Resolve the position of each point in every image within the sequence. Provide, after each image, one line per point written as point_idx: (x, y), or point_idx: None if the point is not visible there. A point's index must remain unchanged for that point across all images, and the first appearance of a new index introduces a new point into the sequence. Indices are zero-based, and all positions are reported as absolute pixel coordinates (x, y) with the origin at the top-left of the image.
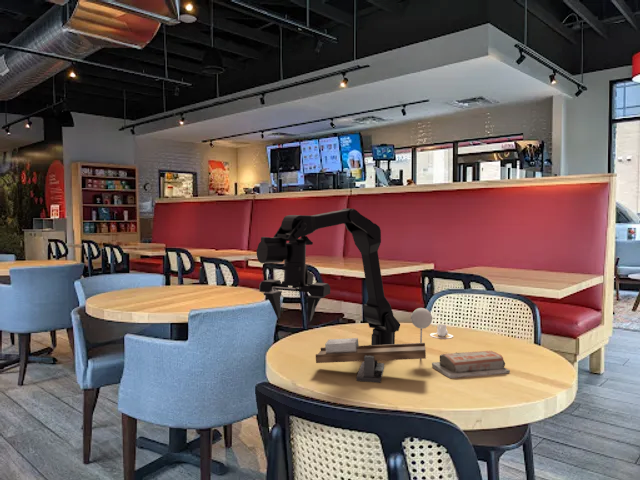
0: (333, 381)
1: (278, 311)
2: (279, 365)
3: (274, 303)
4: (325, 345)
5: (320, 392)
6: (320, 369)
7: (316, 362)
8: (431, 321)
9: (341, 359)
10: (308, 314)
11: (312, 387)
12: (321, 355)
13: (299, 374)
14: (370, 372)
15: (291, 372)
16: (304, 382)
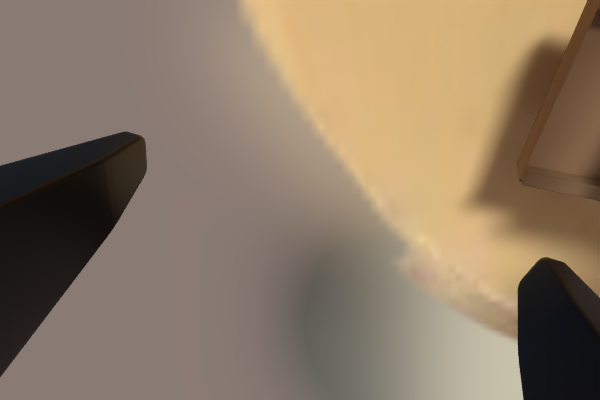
0: (580, 213)
1: (97, 221)
2: (290, 5)
3: (2, 363)
4: None
5: (499, 300)
6: (546, 46)
7: (519, 165)
8: None
9: None
10: (531, 388)
11: (473, 265)
12: (563, 189)
13: (417, 139)
14: None
15: (375, 115)
16: (442, 224)
